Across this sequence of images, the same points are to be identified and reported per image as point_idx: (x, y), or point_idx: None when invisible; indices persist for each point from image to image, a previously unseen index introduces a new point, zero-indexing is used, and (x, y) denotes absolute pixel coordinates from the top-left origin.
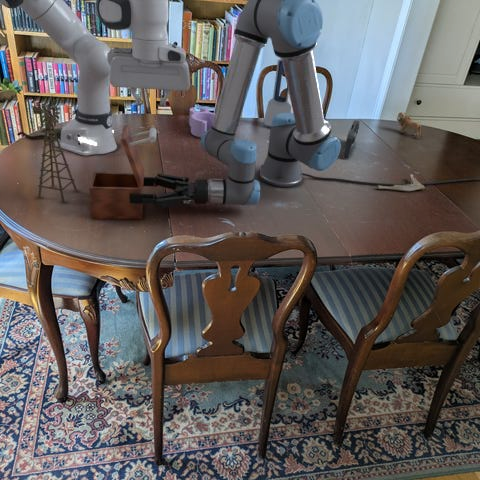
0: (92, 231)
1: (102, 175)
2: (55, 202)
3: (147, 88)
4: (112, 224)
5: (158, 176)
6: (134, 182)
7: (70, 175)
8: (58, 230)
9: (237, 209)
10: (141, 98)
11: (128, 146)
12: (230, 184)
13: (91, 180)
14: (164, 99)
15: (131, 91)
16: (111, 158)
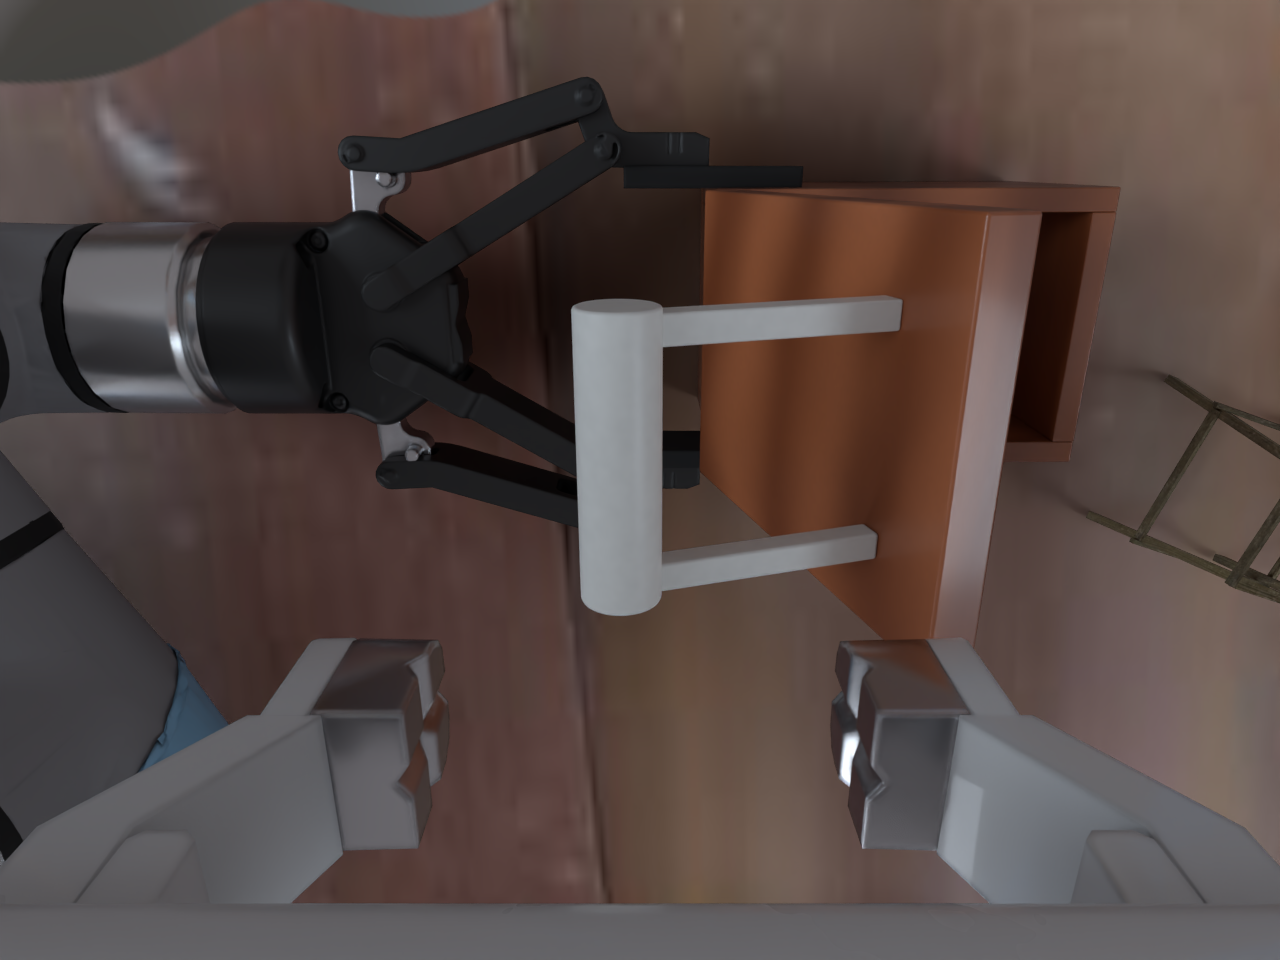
0: (1005, 12)
1: None
2: (1212, 375)
3: (755, 904)
4: (881, 108)
5: None
6: None
7: (1175, 548)
8: (1212, 20)
9: None
10: (859, 805)
11: (913, 209)
12: (3, 286)
13: (1094, 318)
14: (282, 727)
15: (1241, 841)
16: (883, 889)
